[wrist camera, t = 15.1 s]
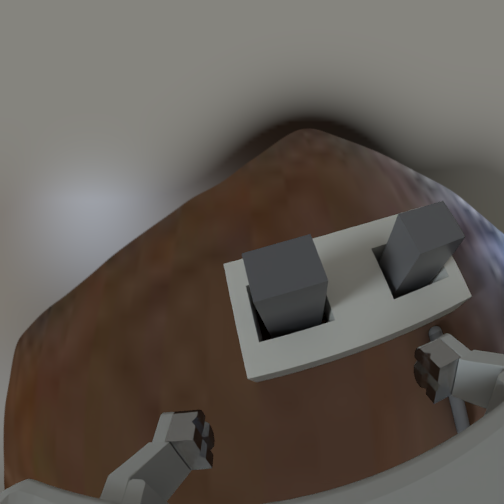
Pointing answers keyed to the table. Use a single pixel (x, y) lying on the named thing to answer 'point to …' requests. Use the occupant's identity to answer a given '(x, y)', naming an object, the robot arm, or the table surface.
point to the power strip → (364, 294)
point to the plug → (287, 285)
